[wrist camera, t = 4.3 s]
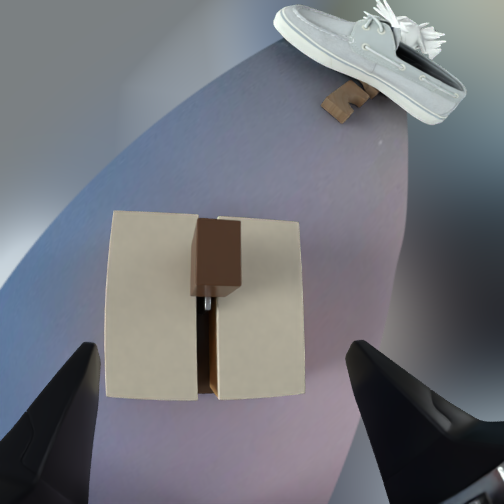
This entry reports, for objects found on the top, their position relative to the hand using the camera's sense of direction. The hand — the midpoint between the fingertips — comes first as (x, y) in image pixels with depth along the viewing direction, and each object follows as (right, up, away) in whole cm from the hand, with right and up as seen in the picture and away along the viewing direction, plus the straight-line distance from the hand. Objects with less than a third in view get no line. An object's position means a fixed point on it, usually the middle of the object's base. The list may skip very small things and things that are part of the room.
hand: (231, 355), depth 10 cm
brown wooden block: (-3, +1, +12) cm, 13 cm away
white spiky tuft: (+21, +32, +26) cm, 46 cm away
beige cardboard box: (-3, -1, +12) cm, 13 cm away
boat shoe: (+14, +26, +22) cm, 37 cm away
